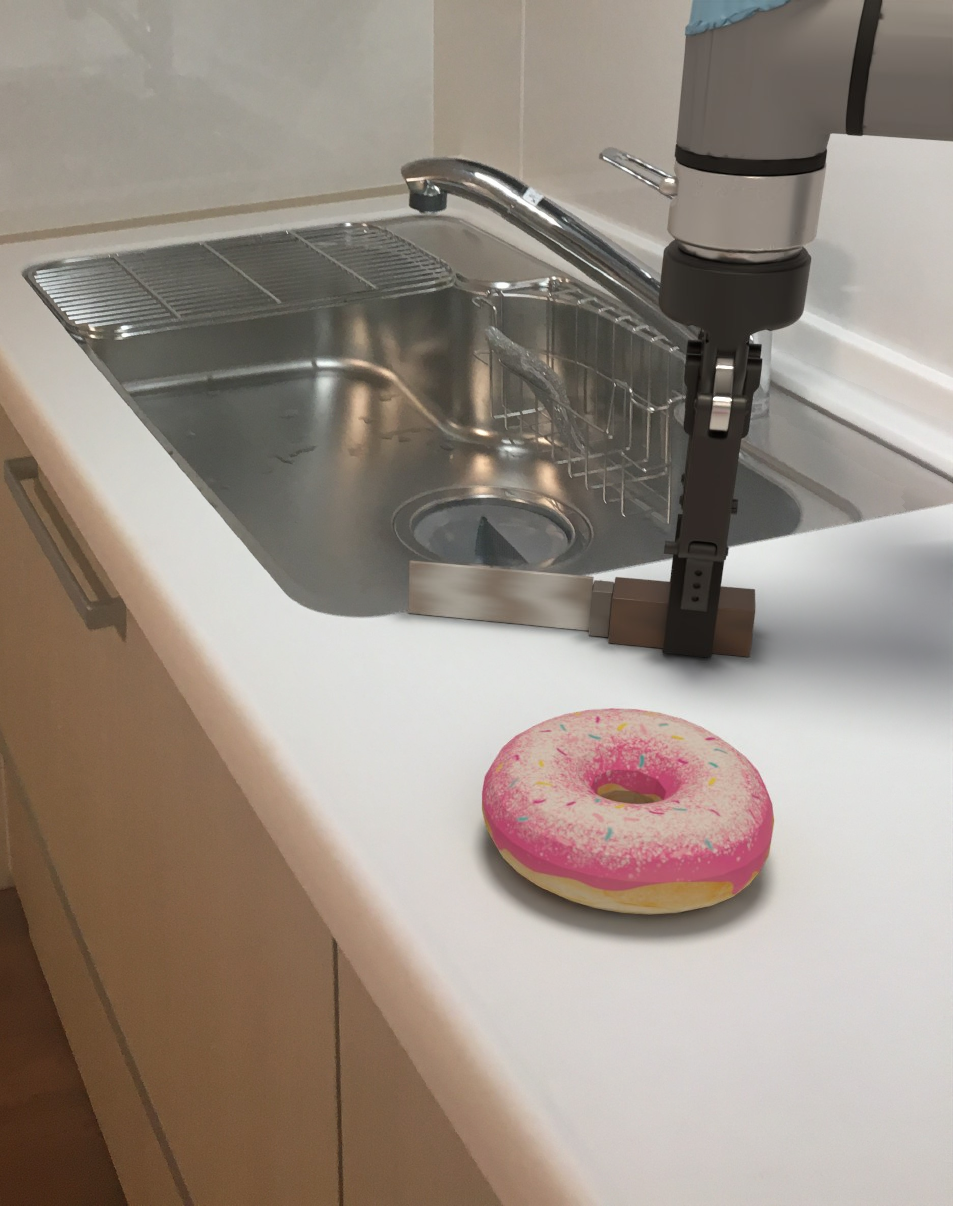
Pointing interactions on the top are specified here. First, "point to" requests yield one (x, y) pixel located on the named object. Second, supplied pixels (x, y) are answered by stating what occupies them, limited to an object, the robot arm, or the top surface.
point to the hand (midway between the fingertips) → (688, 633)
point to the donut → (628, 811)
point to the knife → (571, 603)
